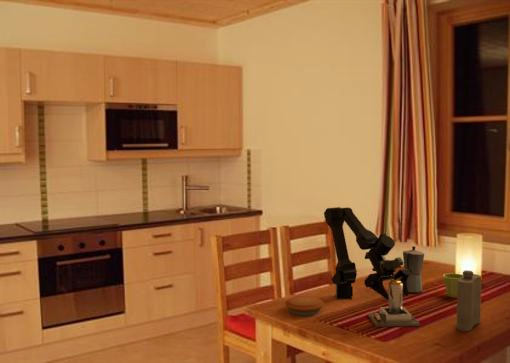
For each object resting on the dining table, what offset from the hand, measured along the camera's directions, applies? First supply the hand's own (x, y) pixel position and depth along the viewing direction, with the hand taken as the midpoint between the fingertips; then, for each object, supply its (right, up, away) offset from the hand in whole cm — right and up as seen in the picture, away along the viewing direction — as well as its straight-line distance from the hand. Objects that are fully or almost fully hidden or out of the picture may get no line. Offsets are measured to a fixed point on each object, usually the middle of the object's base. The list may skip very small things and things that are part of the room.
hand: (398, 297), depth 203 cm
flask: (+24, -9, -4) cm, 26 cm away
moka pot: (+17, -6, +40) cm, 44 cm away
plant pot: (+33, -6, +33) cm, 47 cm away
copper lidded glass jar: (-1, -8, +2) cm, 8 cm away
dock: (-2, -9, +1) cm, 9 cm away
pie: (-34, -9, +13) cm, 37 cm away
